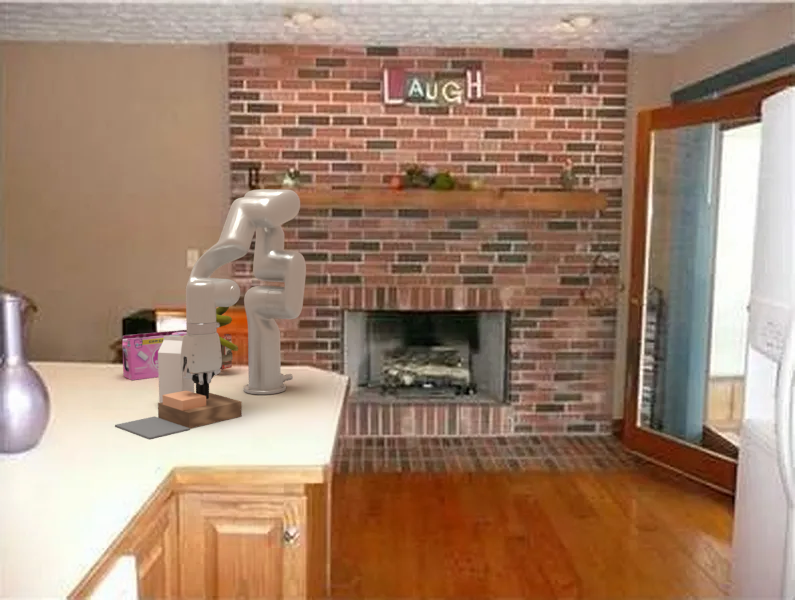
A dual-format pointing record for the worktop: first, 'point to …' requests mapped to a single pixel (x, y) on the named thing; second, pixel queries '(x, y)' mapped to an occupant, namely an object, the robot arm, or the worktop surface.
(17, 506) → the worktop surface
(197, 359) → the robot arm
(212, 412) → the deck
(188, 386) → the milk carton
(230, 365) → the prank snake can
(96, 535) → the worktop surface
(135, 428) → the mat
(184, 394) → the peach flat block
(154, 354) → the gum box
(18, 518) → the worktop surface
